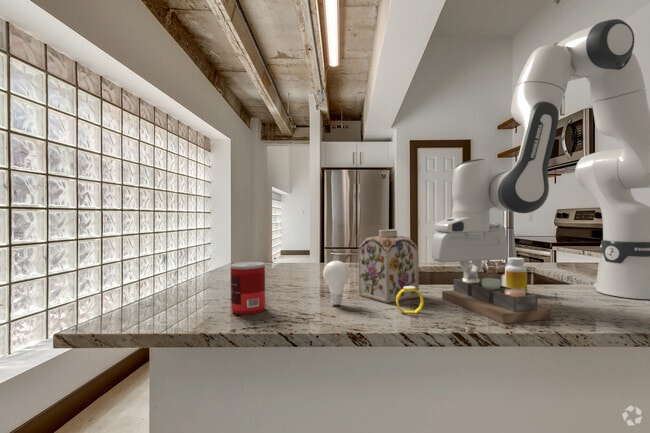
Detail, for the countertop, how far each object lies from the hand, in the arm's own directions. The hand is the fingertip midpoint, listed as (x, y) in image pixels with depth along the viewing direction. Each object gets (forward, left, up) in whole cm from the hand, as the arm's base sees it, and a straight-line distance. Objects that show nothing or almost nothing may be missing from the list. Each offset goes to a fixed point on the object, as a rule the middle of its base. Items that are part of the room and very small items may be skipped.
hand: (470, 278), depth 95 cm
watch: (+20, +5, -6) cm, 21 cm away
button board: (0, +7, -6) cm, 9 cm away
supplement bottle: (-16, -3, -6) cm, 17 cm away
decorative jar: (+18, -11, -6) cm, 22 cm away
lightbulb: (+34, -6, -6) cm, 35 cm away
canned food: (+55, -8, -6) cm, 56 cm away
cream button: (0, 0, -3) cm, 3 cm away
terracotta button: (0, +15, -3) cm, 15 cm away
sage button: (0, +7, -2) cm, 8 cm away
